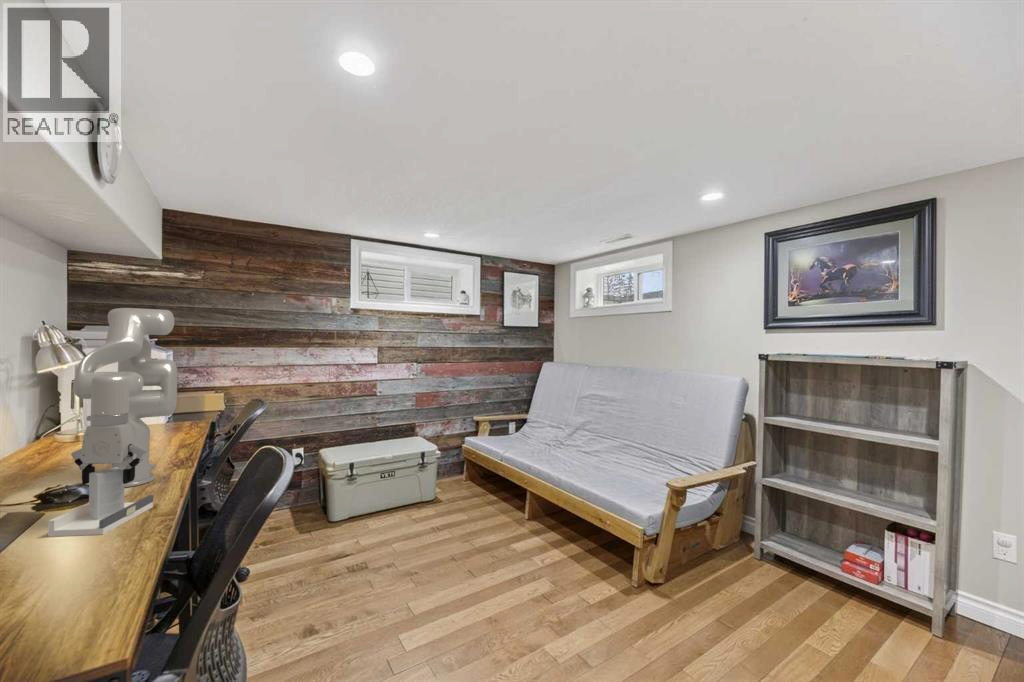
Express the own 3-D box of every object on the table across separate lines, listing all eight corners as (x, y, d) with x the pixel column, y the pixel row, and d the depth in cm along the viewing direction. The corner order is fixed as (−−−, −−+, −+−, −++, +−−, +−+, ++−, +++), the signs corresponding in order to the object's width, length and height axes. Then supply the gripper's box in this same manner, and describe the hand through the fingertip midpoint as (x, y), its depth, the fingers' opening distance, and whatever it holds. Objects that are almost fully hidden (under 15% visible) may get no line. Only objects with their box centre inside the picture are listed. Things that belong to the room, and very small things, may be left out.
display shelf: (106, 508, 122) (107, 494, 122) (152, 506, 123) (153, 493, 123) (48, 536, 104) (48, 520, 104) (103, 534, 106) (103, 518, 106)
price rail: (149, 501, 123) (149, 495, 123) (153, 501, 123) (154, 494, 123) (99, 528, 106) (99, 520, 106) (104, 528, 106) (104, 520, 106)
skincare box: (116, 509, 117) (117, 466, 118) (124, 512, 116) (125, 468, 116) (87, 517, 112) (88, 472, 112) (95, 520, 110) (97, 474, 110)
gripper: (61, 423, 109) (59, 488, 109) (135, 423, 112) (133, 486, 112) (85, 417, 116) (84, 478, 117) (154, 417, 119) (153, 477, 119)
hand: (108, 482), depth 114 cm, fingers open, 9 cm apart
